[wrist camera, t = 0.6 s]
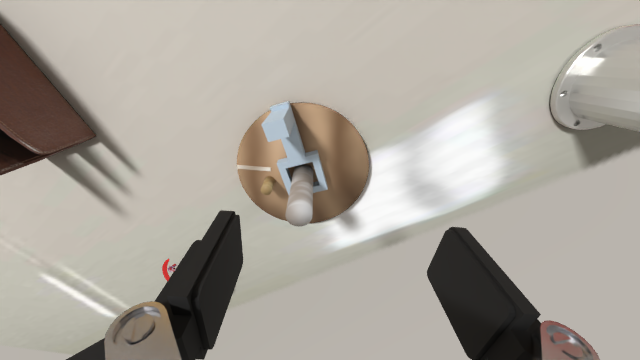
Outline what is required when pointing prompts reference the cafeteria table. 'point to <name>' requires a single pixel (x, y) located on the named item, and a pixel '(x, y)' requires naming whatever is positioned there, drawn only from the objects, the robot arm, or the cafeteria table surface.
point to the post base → (331, 156)
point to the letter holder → (32, 112)
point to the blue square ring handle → (291, 145)
